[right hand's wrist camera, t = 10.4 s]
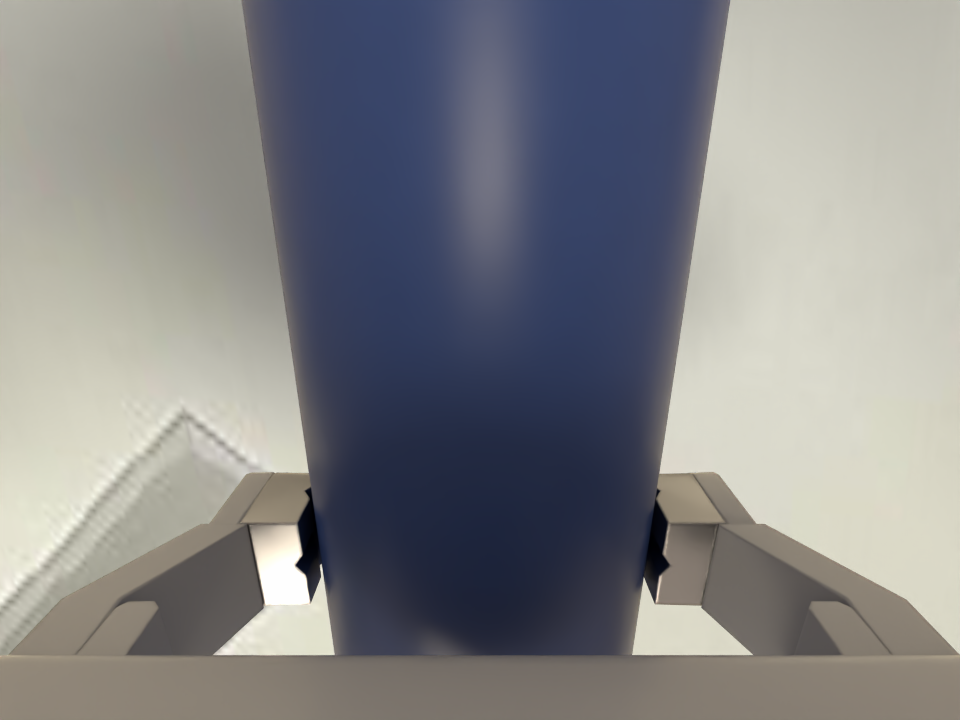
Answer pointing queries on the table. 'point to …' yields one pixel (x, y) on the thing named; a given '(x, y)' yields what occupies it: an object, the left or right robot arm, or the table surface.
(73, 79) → the table surface
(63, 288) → the table surface
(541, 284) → the rod
